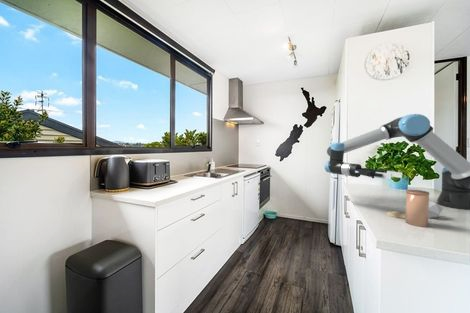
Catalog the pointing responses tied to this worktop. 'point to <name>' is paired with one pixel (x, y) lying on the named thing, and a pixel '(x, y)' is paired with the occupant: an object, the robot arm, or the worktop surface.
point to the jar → (417, 207)
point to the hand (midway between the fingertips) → (397, 175)
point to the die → (434, 210)
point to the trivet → (396, 214)
